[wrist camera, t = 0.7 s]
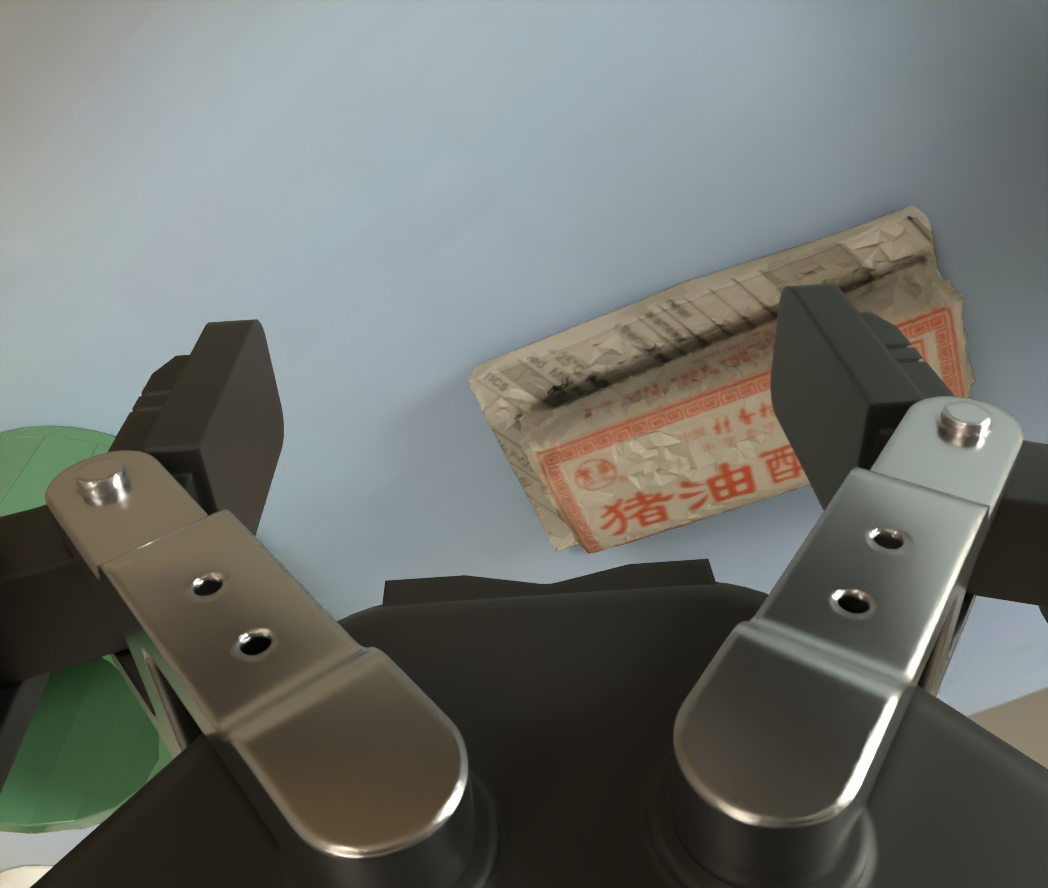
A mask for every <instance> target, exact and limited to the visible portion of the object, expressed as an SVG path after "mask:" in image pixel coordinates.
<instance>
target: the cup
mask: <svg viewBox="0 0 1048 888" xmlns="http://www.w3.org/2000/svg"><path fill="white" fill-rule="evenodd" d="M115 438H116V437H115V436H111V435H107V434H104V433H100V432H96V431H92V430H86V429H79V428H73V427H60V426H37V427H25V428H19V429H13V430H8V431H5V432H1V433H0V517H2V516H6V515H10V514H14V513H18V512H21V511H25V510H29V509H33V508H36V507H40V506H43V505H45V504H46V501H45V492H46V489H47V487H48V485H49V484H50V482H51V481H52V480H53V479H54V478H55V477H56V476H57V475H58V474H59V473H61V472H62V471H63V470H65V469H66V468H68V467H70V466H71V465H73V464H75V463H77V462H79V461H81V460H84V459H86V458H89V457H92V456H95V455H99V454H102V453H107V452H108V450H109V448H110V447H111V445H112V443H113V441H114V440H115ZM172 760H173V758H172V756H171V754H170V752H169V750H168V748H167V746H166V745H165V743H164V741H163V740H162V738H161V736H160V735H159V733H158V732H157V730H156V728H155V727H154V725H153V724H152V722H151V721H150V719H149V717H148V716H147V714H146V713H145V711H144V709H143V708H142V706H141V705H140V703H139V702H138V700H137V698H136V697H135V695H134V694H133V692H132V691H131V689H130V687H129V686H128V684H127V683H126V681H125V679H124V678H123V676H122V675H121V673H120V672H119V670H118V668H117V667H116V665H115V664H114V662H113V659H112V657H111V655H110V654H109V655H106V656H103V657H99V658H96V659H93V660H89V661H86V662H83V663H80V664H76V665H73V666H70V667H66V668H63V669H60V670H56V671H53V672H50V673H49V677H48V680H47V683H46V685H45V688H44V690H43V693H42V695H41V697H40V700H39V702H38V705H37V707H36V709H35V712H34V714H33V717H32V719H31V721H30V724H29V726H28V729H27V731H26V733H25V736H24V738H23V741H22V743H21V745H20V748H19V750H18V753H17V755H16V758H15V760H14V762H13V765H12V767H11V770H10V772H9V774H8V777H7V779H6V782H5V784H4V786H3V789H2V791H1V794H0V831H2V832H14V833H26V834H32V833H33V834H37V833H47V832H57V831H68V830H78V829H82V828H83V829H84V828H87V827H90V826H93V825H96V824H99V823H102V822H104V821H105V820H106V819H107V818H108V817H109V816H110V815H111V814H113V813H114V812H115V811H116V810H117V809H118V808H119V807H120V806H122V805H123V804H124V803H125V802H126V801H127V800H128V799H129V798H130V797H132V796H133V795H134V794H135V793H136V792H137V791H138V790H139V789H141V788H142V787H143V786H144V785H145V784H146V783H147V782H148V781H149V780H151V779H152V778H153V777H154V776H155V775H156V774H157V773H158V772H160V771H161V770H162V769H163V768H164V767H165V766H166V765H167V764H168V763H170V762H171V761H172Z"/></svg>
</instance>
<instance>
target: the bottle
mask: <svg viewBox="0 0 1048 888" xmlns="http://www.w3.org/2000/svg"><path fill="white" fill-rule="evenodd" d="M52 867H53V866H23V867H19V868H14V869H9V870H6V871H3V872H2V873H0V888H30V887H31V886H32V885H33V884H34V883H35V882H37V881H38V880H39V879H40V878H41V877H42V876H43V875H44V874H46V873H47V872H48V871H49V870H50V869H51V868H52Z"/></svg>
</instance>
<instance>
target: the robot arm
mask: <svg viewBox="0 0 1048 888" xmlns="http://www.w3.org/2000/svg"><path fill="white" fill-rule="evenodd" d="M770 389H771V400H772V405H773V410H774V413H775V415H776V417H777V419H778V421H779V423H780V425H781V427H782V429H783V431H784V433H785V435H786V437H787V439H788V441H789V443H790V445H791V447H792V449H793V451H794V453H795V455H796V457H797V459H798V461H799V463H800V465H801V466H802V468H803V470H804V472H805V474H806V476H807V478H808V480H809V482H810V484H811V486H812V488H813V490H814V492H815V494H816V496H817V498H818V500H819V502H820V504H821V506H822V508H823V510H824V512H823V514H822V515H821V517H820V518H819V520H818V521H817V523H816V524H815V526H814V527H813V529H812V530H811V532H810V533H809V535H808V536H807V538H806V539H805V541H804V542H803V544H802V545H801V547H800V548H799V550H798V551H797V553H796V554H795V556H794V557H793V559H792V560H791V562H790V563H789V565H788V566H787V568H786V569H785V571H784V573H783V574H782V576H781V577H780V579H779V580H778V582H777V583H776V585H775V586H774V588H773V589H772V591H771V592H770V594H769V595H768V594H766V593H763V592H760V591H757V590H753V589H750V588H747V587H742V586H738V585H733V584H728V583H721V582H715V579H714V576H713V572H712V569H711V566H710V563H709V560H708V559H699V560H684V561H669V562H655V563H640V564H628V565H624V566H620V567H616V568H612V569H608V570H605V571H601V572H597V573H593V574H589V575H585V576H581V577H577V578H573V579H569V580H566V581H562V582H558V583H553V584H537V583H528V582H519V581H510V580H501V579H492V578H484V577H475V576H466V575H463V576H448V577H433V578H419V579H404V580H389V581H385V587H384V596H383V604H382V605H378V606H375V607H371V608H368V609H365V610H363V611H360V612H357V613H354V614H352V615H350V616H347V617H345V618H343V619H341V620H339V621H336V620H335V619H334V618H333V617H332V616H331V615H330V614H329V613H328V612H327V611H326V610H325V609H324V608H323V607H322V606H321V605H320V604H319V603H318V602H317V601H316V600H315V599H314V598H313V597H312V595H311V594H310V593H309V592H308V591H307V590H306V589H305V588H304V587H303V586H302V585H301V584H300V583H299V582H298V581H297V580H296V579H295V578H294V577H293V576H292V575H291V574H290V573H289V572H288V571H287V570H286V569H285V567H284V566H283V565H282V564H281V563H280V562H279V561H278V560H277V559H276V558H275V557H274V556H273V555H272V554H271V553H270V552H269V551H268V550H267V549H266V548H265V547H264V546H263V545H262V544H261V543H260V542H259V540H258V539H257V538H256V537H255V535H256V532H257V529H258V525H259V522H260V519H261V515H262V512H263V509H264V505H265V502H266V499H267V496H268V492H269V489H270V486H271V482H272V479H273V476H274V472H275V469H276V466H277V463H278V459H279V456H280V453H281V449H282V445H283V438H284V422H283V413H282V407H281V402H280V398H279V394H278V389H277V385H276V380H275V376H274V372H273V367H272V363H271V359H270V354H269V350H268V345H267V341H266V337H265V333H264V330H263V327H262V325H261V323H260V322H259V321H258V320H257V319H255V320H240V321H224V322H209V323H207V324H206V326H205V328H204V329H203V331H202V333H201V335H200V337H199V339H198V341H197V343H196V345H195V346H194V348H193V350H192V352H191V354H190V355H181V356H175V357H174V358H173V359H171V360H170V361H169V362H167V363H166V364H165V365H163V366H162V367H161V368H159V369H158V370H157V371H155V372H154V373H153V374H152V375H151V377H150V379H149V381H148V382H147V384H146V386H145V388H144V389H143V391H142V396H140V397H139V398H138V400H137V401H136V403H135V405H134V407H133V412H130V414H129V415H128V417H127V419H126V421H125V422H124V424H123V426H122V427H121V429H120V431H119V433H118V434H117V436H116V438H115V440H114V441H113V443H112V445H111V447H110V448H109V450H108V452H107V453H102V454H99V455H95V456H92V457H89V458H86V459H84V460H81V461H79V462H77V463H75V464H73V465H71V466H70V467H68V468H66V469H65V470H63V471H62V472H61V473H59V474H58V475H57V476H56V477H55V478H54V479H53V480H52V481H51V482H50V484H49V485H48V487H47V489H46V492H45V501H46V504H45V505H43V506H40V507H36V508H33V509H29V510H25V511H21V512H18V513H14V514H10V515H6V516H2V517H0V794H1V791H2V789H3V786H4V784H5V782H6V779H7V777H8V774H9V772H10V770H11V767H12V765H13V762H14V760H15V758H16V755H17V753H18V750H19V748H20V745H21V743H22V741H23V738H24V736H25V733H26V731H27V729H28V726H29V724H30V721H31V719H32V717H33V714H34V712H35V709H36V707H37V705H38V702H39V700H40V697H41V695H42V693H43V690H44V688H45V685H46V683H47V680H48V677H49V673H50V672H53V671H56V670H60V669H63V668H66V667H70V666H73V665H76V664H80V663H83V662H86V661H89V660H93V659H96V658H99V657H103V656H106V655H109V654H110V655H111V657H112V659H113V662H114V664H115V665H116V667H117V668H118V670H119V672H120V673H121V675H122V676H123V678H124V679H125V681H126V683H127V684H128V686H129V687H130V689H131V691H132V692H133V694H134V695H135V697H136V698H137V700H138V702H139V703H140V705H141V706H142V708H143V709H144V711H145V713H146V714H147V716H148V717H149V719H150V721H151V722H152V724H153V725H154V727H155V728H156V730H157V732H158V733H159V735H160V736H161V738H162V740H163V741H164V743H165V745H166V746H167V748H168V750H169V752H170V754H171V756H172V758H173V760H172V761H171V762H170V763H168V764H167V765H166V766H165V767H164V768H163V769H162V770H161V771H160V772H158V773H157V774H156V775H155V776H154V777H153V778H152V779H151V780H149V781H148V782H147V783H146V784H145V785H144V786H143V787H142V788H141V789H139V790H138V791H137V792H136V793H135V794H134V795H133V796H132V797H130V798H129V799H128V800H127V801H126V802H125V803H124V804H123V805H122V806H120V807H119V808H118V809H117V810H116V811H115V812H114V813H113V814H111V815H110V816H109V817H108V818H107V819H106V820H105V821H104V822H103V823H101V824H100V825H99V826H98V827H97V828H96V829H95V830H94V831H92V832H91V833H90V834H89V835H88V836H87V837H86V838H85V839H84V840H82V841H81V842H80V843H79V844H78V845H77V846H76V847H75V848H73V849H72V850H71V851H70V852H69V853H68V854H67V855H66V856H65V857H63V858H62V859H61V860H60V861H59V862H58V863H57V864H56V865H54V866H53V867H52V868H51V869H50V870H49V871H48V872H47V873H46V874H44V875H43V876H42V877H41V878H40V879H39V880H38V881H37V882H35V883H34V884H33V885H32V886H31V887H30V888H1048V769H1046V768H1045V767H1043V766H1042V765H1040V764H1039V763H1037V762H1035V761H1034V760H1032V759H1031V758H1029V757H1028V756H1026V755H1025V754H1023V753H1022V752H1020V751H1018V750H1017V749H1015V748H1014V747H1012V746H1011V745H1009V744H1008V743H1006V742H1004V741H1003V740H1001V739H1000V738H998V737H997V736H995V735H994V734H992V733H991V732H989V731H987V730H986V729H984V728H983V727H981V726H980V725H978V724H976V723H975V722H973V721H972V720H970V719H969V718H967V717H966V716H964V715H963V714H961V713H960V712H958V711H957V710H955V709H953V708H952V707H950V706H949V705H947V704H946V703H944V702H943V701H941V700H940V699H938V698H936V695H937V693H938V690H939V687H940V685H941V682H942V680H943V677H944V675H945V673H946V670H947V668H948V665H949V663H950V660H951V658H952V655H953V653H954V651H955V648H956V646H957V643H958V641H959V638H960V636H961V633H962V631H963V628H964V626H965V624H966V621H967V619H968V616H969V614H970V611H971V609H972V606H973V604H974V601H975V597H976V595H977V596H983V597H989V598H995V599H1002V600H1008V601H1014V602H1021V603H1027V604H1033V605H1039V609H1040V611H1041V613H1042V615H1043V616H1044V618H1045V620H1046V621H1047V623H1048V444H1042V443H1035V442H1029V441H1025V440H1023V439H1024V430H1023V428H1022V426H1021V424H1020V423H1019V422H1018V420H1017V419H1016V418H1014V417H1013V416H1012V415H1011V414H1009V413H1008V412H1006V411H1005V410H1003V409H1001V408H999V407H997V406H994V405H992V404H989V403H987V402H983V401H980V400H976V399H971V398H965V397H956V396H955V395H954V394H953V393H952V392H951V390H950V389H949V388H948V387H947V386H946V384H945V383H944V382H943V381H942V380H941V379H940V377H939V376H938V375H937V374H936V373H935V371H934V370H933V369H932V368H931V367H930V365H929V364H928V363H927V362H923V357H922V356H921V355H920V353H919V352H918V351H917V350H916V349H915V348H914V347H911V343H910V342H909V340H908V339H907V338H906V337H905V336H904V334H903V333H902V332H901V331H900V330H899V328H898V327H897V326H895V325H893V324H892V323H890V322H888V321H886V320H884V319H882V318H881V317H879V316H877V315H875V314H873V313H872V312H861V313H859V312H858V311H857V309H856V308H855V307H854V306H853V304H852V303H851V302H850V301H849V299H848V298H847V297H846V295H845V294H844V293H843V292H842V290H841V289H840V288H839V287H838V285H837V284H835V283H829V284H813V285H798V286H786V287H785V288H784V289H783V291H782V293H781V296H780V301H779V308H778V317H777V325H776V334H775V343H774V351H773V360H772V369H771V380H770Z"/></svg>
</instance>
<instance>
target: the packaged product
mask: <svg viewBox="0 0 1048 888" xmlns="http://www.w3.org/2000/svg"><path fill="white" fill-rule="evenodd" d="M829 283H835V284H837V285H838V287H839V288H840V289H841V290H842V292H843V293H844V294H845V295H846V297H847V298H848V299H849V301H850V302H851V303H852V304H853V306H854V307H855V308H856V309H857V311H858V312H859V313H861V312H872V313H873V314H875V315H877V316H879V317H881V318H882V319H884V320H886V321H888V322H890V323H892V324H893V325H895V326H897V327H898V328H899V330H900V331H901V332H902V333H903V334H904V336H905V337H906V338H907V339H908V340H909V342H910V343H911V347H914V348H915V349H916V350H917V351H918V352H919V353H920V355H921V356H922V357H923V362H927V363H928V364H929V365H930V367H931V368H932V369H933V370H934V371H935V373H936V374H937V375H938V376H939V377H940V379H941V380H942V381H943V382H944V383H945V384H946V386H947V387H948V388H949V389H950V390H951V392H952V393H953V394H954V395H955V396H956V397H965V398H970V389H971V386H972V385H973V383H974V382H975V379H974V375H973V371H972V367H971V364H970V360H969V356H968V352H967V348H966V338H967V334H966V332H965V330H964V328H963V322H962V318H963V299H964V298H963V297H962V295H961V294H960V293H959V291H957V290H956V289H955V288H954V286H953V284H952V281H951V280H949V281H945V280H944V278H943V277H942V276H941V274H940V273H939V272H938V268H937V261H936V254H935V248H934V241H933V237H932V230H931V227H930V224H929V221H928V218H927V216H926V215H925V214H923V213H922V212H921V211H920V210H918V209H917V208H916V207H915V206H913V205H911V206H909V207H906V208H903V209H901V210H898V211H896V212H893V213H890V214H888V215H885V216H882V217H880V218H877V219H874V220H872V221H869V222H866V223H864V224H861V225H858V226H856V227H853V228H851V229H848V230H845V231H843V232H840V233H837V234H834V235H831V236H828V237H825V238H821V239H818V240H815V241H812V242H809V243H806V244H803V245H800V246H796V247H793V248H790V249H787V250H784V251H781V252H778V253H774V254H771V255H768V256H765V257H762V258H759V259H756V260H753V261H749V262H746V263H743V264H740V265H737V266H734V267H731V268H727V269H724V270H721V271H718V272H715V273H712V274H709V275H705V276H702V277H699V278H696V279H693V280H690V281H687V282H684V283H680V284H678V285H676V286H673V287H671V288H668V289H666V290H664V291H661V292H659V293H656V294H654V295H652V296H649V297H647V298H644V299H642V300H639V301H637V302H635V303H632V304H630V305H627V306H625V307H623V308H620V309H618V310H615V311H613V312H610V313H608V314H605V315H603V316H600V317H598V318H595V319H593V320H590V321H587V322H585V323H582V324H580V325H577V326H575V327H572V328H570V329H567V330H565V331H562V332H560V333H557V334H554V335H552V336H549V337H547V338H544V339H542V340H539V341H537V342H534V343H532V344H529V345H527V346H524V347H521V348H519V349H516V350H514V351H511V352H509V353H506V354H504V355H501V356H499V357H496V358H494V359H491V360H488V361H486V362H483V363H481V364H478V365H476V366H474V367H473V370H472V372H471V375H470V378H469V380H468V383H469V385H470V387H471V389H472V391H473V393H474V395H475V397H476V399H477V401H478V403H479V405H480V407H481V409H482V412H483V413H484V415H485V417H486V418H487V420H488V422H489V424H490V426H491V428H492V430H493V432H494V434H495V436H496V438H497V440H498V442H499V444H500V446H501V448H502V450H503V452H504V453H505V455H506V457H507V459H508V461H509V463H510V465H511V467H512V469H513V471H514V472H515V474H516V476H517V478H518V480H519V482H520V484H521V485H522V487H523V489H524V491H525V493H526V495H527V497H528V499H529V501H530V503H531V505H532V507H533V509H534V511H535V513H536V515H537V517H538V519H539V521H540V522H541V524H542V526H543V528H544V530H545V532H546V534H547V535H548V537H549V539H550V541H551V543H552V545H553V547H554V549H555V551H556V553H557V552H560V551H562V550H564V549H566V548H568V547H571V546H574V545H577V544H579V545H580V546H582V547H583V548H584V549H585V550H586V551H587V552H588V553H594V552H599V551H602V550H605V549H608V548H612V547H615V546H619V545H623V544H626V543H630V542H633V541H636V540H639V539H642V538H645V537H649V536H652V535H655V534H658V533H661V532H664V531H667V530H670V529H674V528H678V527H681V526H684V525H687V524H690V523H693V522H696V521H699V520H702V519H705V518H708V517H711V516H714V515H717V514H720V513H723V512H726V511H729V510H733V509H736V508H739V507H742V506H745V505H748V504H751V503H754V502H757V501H760V500H763V499H767V498H770V497H773V496H776V495H780V494H783V493H786V492H789V491H792V490H795V489H798V488H801V487H805V486H808V485H811V484H810V482H809V480H808V478H807V476H806V474H805V472H804V470H803V468H802V466H801V465H800V463H799V461H798V459H797V457H796V455H795V453H794V451H793V449H792V447H791V445H790V443H789V441H788V439H787V437H786V435H785V433H784V431H783V429H782V427H781V425H780V423H779V421H778V419H777V417H776V415H775V413H774V410H773V405H772V400H771V389H770V380H771V369H772V360H773V351H774V343H775V334H776V325H777V317H778V308H779V301H780V296H781V293H782V291H783V289H784V288H785V287H786V286H798V285H813V284H829Z"/></svg>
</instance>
